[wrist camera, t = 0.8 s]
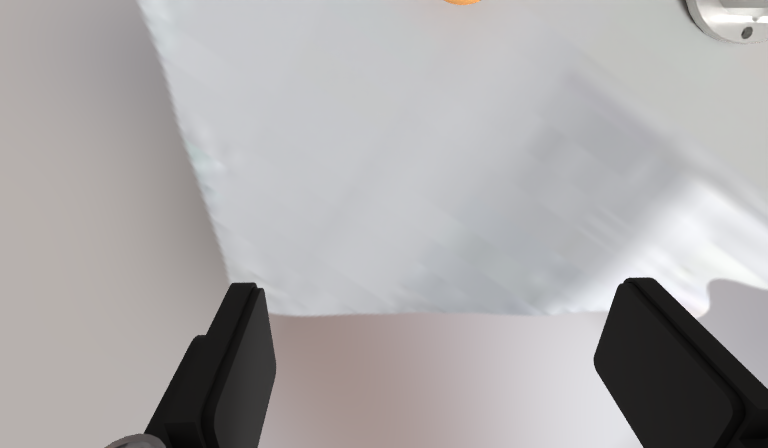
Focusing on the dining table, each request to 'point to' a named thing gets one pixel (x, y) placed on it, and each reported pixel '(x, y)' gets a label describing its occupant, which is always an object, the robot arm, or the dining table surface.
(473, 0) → the ball
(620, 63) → the dining table surface
